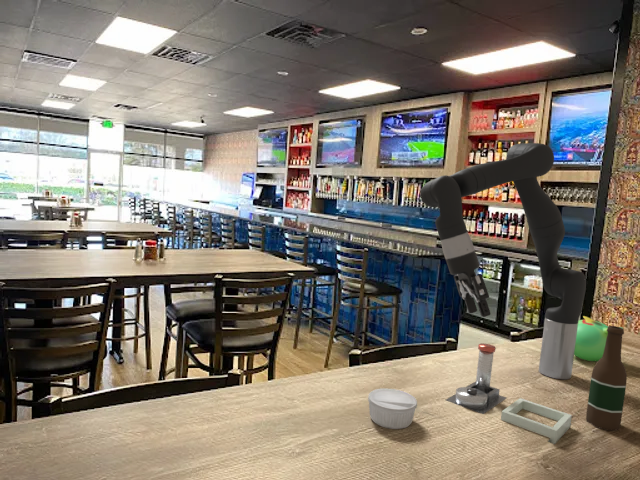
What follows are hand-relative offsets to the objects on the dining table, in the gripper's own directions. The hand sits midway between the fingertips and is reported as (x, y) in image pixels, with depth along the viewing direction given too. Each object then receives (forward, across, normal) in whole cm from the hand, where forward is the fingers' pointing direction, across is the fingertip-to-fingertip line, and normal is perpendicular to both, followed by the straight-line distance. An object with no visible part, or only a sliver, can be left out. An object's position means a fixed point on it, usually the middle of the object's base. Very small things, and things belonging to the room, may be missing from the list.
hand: (479, 314), depth 122 cm
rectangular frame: (+27, -8, -2) cm, 28 cm away
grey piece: (+22, +3, +7) cm, 23 cm away
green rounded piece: (+38, +44, -47) cm, 75 cm away
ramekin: (+14, -10, +31) cm, 35 cm away
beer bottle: (+34, -6, -19) cm, 39 cm away
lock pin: (+21, +5, +5) cm, 22 cm away
